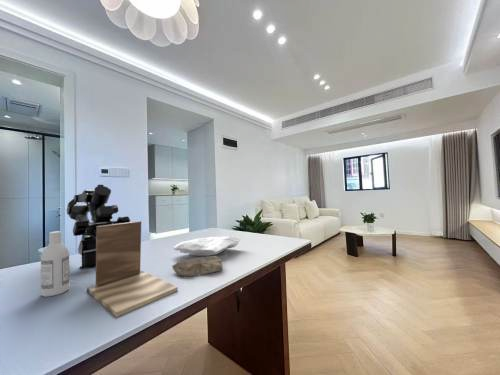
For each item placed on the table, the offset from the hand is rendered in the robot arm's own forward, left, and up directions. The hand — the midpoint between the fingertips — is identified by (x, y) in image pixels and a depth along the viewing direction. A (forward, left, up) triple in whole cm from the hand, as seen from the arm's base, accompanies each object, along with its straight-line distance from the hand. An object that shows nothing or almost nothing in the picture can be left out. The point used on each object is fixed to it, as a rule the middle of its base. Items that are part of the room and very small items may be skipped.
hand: (108, 241), depth 83 cm
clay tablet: (+34, +1, -14) cm, 37 cm away
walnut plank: (+8, -8, -12) cm, 16 cm away
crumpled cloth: (+37, +22, -14) cm, 45 cm away
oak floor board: (+14, -14, -14) cm, 24 cm away
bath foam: (-11, -11, -14) cm, 21 cm away
